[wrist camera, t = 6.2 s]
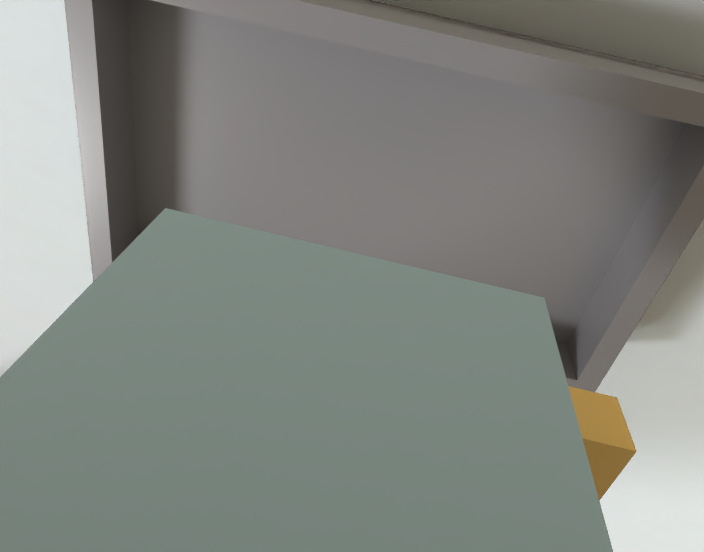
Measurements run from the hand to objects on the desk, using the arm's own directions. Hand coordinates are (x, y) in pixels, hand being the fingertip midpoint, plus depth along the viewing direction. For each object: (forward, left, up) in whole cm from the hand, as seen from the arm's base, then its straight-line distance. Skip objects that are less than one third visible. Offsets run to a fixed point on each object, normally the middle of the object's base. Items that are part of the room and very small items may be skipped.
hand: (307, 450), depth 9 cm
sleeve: (0, 0, -2) cm, 2 cm away
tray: (0, 0, -12) cm, 12 cm away
